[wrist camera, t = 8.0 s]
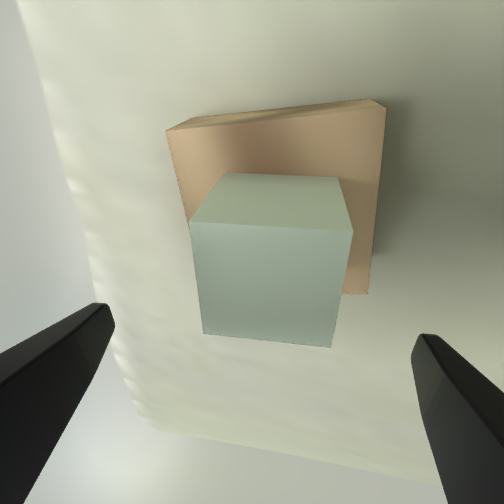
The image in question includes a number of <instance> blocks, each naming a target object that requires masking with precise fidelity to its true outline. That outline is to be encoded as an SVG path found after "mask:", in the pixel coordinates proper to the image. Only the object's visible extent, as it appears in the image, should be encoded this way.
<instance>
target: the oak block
mask: <svg viewBox="0 0 504 504" xmlns="http://www.w3.org/2000/svg"><path fill="white" fill-rule="evenodd" d="M386 111H387V108H386V107H384V106H382V105H380V104H378V103H376V102H375V101H373V100H371V99H362V100H353V101H344V102H334V103H325V104H316V105H307V106H298V107H289V108H280V109H270V110H261V111H252V112H243V113H234V114H225V115H216V116H206V117H197V118H191V119H189V120H187V121H185V122H183V123H181V124H178V125H176V126H174V127H172V128H170V129H168V130H166V131H165V132H166V136H167V140H168V144H169V148H170V152H171V156H172V160H173V164H174V168H175V172H176V177H177V181H178V185H179V189H180V193H181V197H182V201H183V205H184V209H185V213H186V217H187V221H188V225H189V221H190V219H191V218H192V216H193V215H194V214H195V212H196V211H197V210H198V208H199V207H200V205H201V204H202V203H203V201H204V200H205V199H206V197H207V196H208V194H209V193H210V192H211V190H212V189H213V188H214V186H215V185H216V183H217V182H218V181H219V179H220V178H221V176H222V175H223V174H224V173H247V174H273V175H298V176H323V177H338V180H339V183H340V187H341V190H342V193H343V197H344V200H345V204H346V207H347V211H348V214H349V218H350V221H351V225H352V228H353V236H352V242H351V247H350V252H349V257H348V262H347V267H346V272H345V278H344V283H343V288H342V293H341V294H368V286H369V276H370V266H371V256H372V247H373V237H374V227H375V218H376V208H377V198H378V189H379V179H380V169H381V159H382V150H383V140H384V130H385V121H386ZM189 229H190V227H189Z"/></svg>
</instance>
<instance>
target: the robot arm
mask: <svg viewBox="0 0 504 504" xmlns="http://www.w3.org/2000/svg"><path fill="white" fill-rule="evenodd" d="M114 329H115V322H114V319H113V316H112V313H111V310H110V307H109V306H108V305H107V304H105V303H92V304H90V305H88V306H86V307H84V308H83V309H81V310H79V311H77V312H75V313H73V314H72V315H70V316H68V317H66V318H64V319H63V320H61V321H59V322H57V323H55V324H53V325H52V326H50V327H48V328H46V329H44V330H42V331H41V332H39V333H37V334H35V335H33V336H31V337H30V338H28V339H26V340H24V341H22V342H20V343H19V344H17V345H15V346H13V347H11V348H10V349H8V350H6V351H4V352H2V353H0V504H23V503H24V501H25V499H26V498H27V496H28V494H29V492H30V491H31V489H32V487H33V485H34V483H35V482H36V480H37V478H38V476H39V475H40V473H41V471H42V469H43V467H44V466H45V464H46V462H47V460H48V458H49V457H50V455H51V453H52V451H53V449H54V447H55V446H56V444H57V442H58V440H59V439H60V437H61V435H62V433H63V431H64V430H65V428H66V426H67V424H68V422H69V421H70V419H71V417H72V415H73V413H74V412H75V410H76V408H77V406H78V404H79V403H80V401H81V399H82V397H83V395H84V393H85V392H86V390H87V388H88V386H89V385H90V383H91V381H92V379H93V377H94V375H95V373H96V371H97V369H98V366H99V364H100V362H101V359H102V357H103V355H104V353H105V350H106V348H107V345H108V343H109V341H110V339H111V336H112V334H113V332H114ZM411 364H412V369H413V374H414V380H415V385H416V390H417V395H418V401H419V406H420V411H421V415H422V420H423V423H424V427H425V430H426V433H427V437H428V440H429V443H430V446H431V450H432V453H433V456H434V459H435V463H436V466H437V469H438V472H439V476H440V479H441V482H442V485H443V489H444V492H445V495H446V498H447V502H448V504H504V393H503V392H502V391H501V390H500V389H499V388H498V387H497V386H495V385H494V384H493V383H492V382H491V381H490V380H489V379H487V378H486V377H485V376H484V375H483V374H482V373H481V372H479V371H478V370H477V369H476V368H475V367H474V366H473V365H471V364H470V363H469V362H468V361H467V360H466V359H465V358H463V357H462V356H461V355H460V354H459V353H458V352H457V351H455V350H454V349H453V348H452V347H451V346H450V345H449V344H447V343H446V342H445V341H444V340H443V339H442V338H441V337H439V336H438V335H434V334H424V333H423V334H420V335H419V336H418V338H417V341H416V343H415V346H414V348H413V351H412V354H411Z"/></svg>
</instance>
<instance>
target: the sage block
mask: <svg viewBox="0 0 504 504" xmlns="http://www.w3.org/2000/svg"><path fill="white" fill-rule="evenodd" d="M189 227H190V234H191V242H192V250H193V257H194V265H195V273H196V280H197V288H198V296H199V303H200V311H201V319H202V326H203V334H210V335H219V336H228V337H238V338H247V339H256V340H265V341H274V342H283V343H292V344H301V345H311V346H320V347H329V348H331V345H332V339H333V334H334V329H335V324H336V319H337V314H338V309H339V303H340V298H341V293H342V288H343V283H344V278H345V272H346V267H347V262H348V257H349V252H350V247H351V242H352V236H353V228H352V225H351V221H350V218H349V214H348V211H347V207H346V204H345V200H344V197H343V193H342V190H341V187H340V183H339V180H338V177H323V176H298V175H273V174H247V173H224V174H223V175H222V176H221V178H220V179H219V181H218V182H217V183H216V185H215V186H214V188H213V189H212V190H211V192H210V193H209V194H208V196H207V197H206V199H205V200H204V201H203V203H202V204H201V205H200V207H199V208H198V210H197V211H196V212H195V214H194V215H193V216H192V218H191V219H190V221H189Z"/></svg>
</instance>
